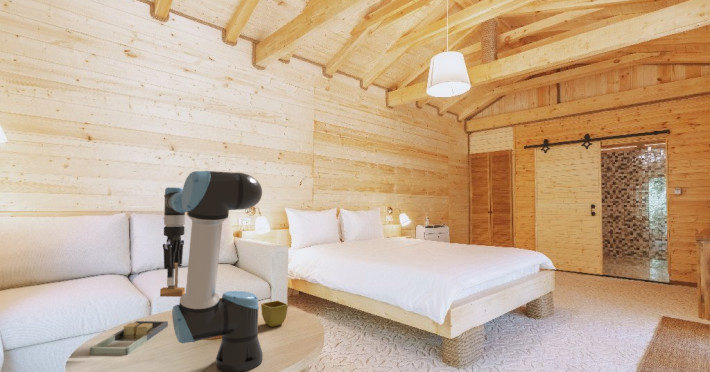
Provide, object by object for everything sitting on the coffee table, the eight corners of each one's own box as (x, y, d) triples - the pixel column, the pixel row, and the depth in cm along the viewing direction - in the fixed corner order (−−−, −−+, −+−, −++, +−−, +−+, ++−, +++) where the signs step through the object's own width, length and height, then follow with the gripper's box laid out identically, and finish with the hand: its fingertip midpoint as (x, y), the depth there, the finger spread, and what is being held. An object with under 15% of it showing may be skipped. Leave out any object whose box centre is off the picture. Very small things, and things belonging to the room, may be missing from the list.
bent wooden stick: (181, 296, 147) (182, 263, 148) (160, 296, 147) (161, 263, 148) (184, 295, 150) (185, 262, 150) (163, 294, 150) (164, 262, 150)
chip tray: (127, 357, 128) (127, 348, 128) (89, 356, 128) (90, 348, 128) (146, 343, 140) (147, 335, 140) (112, 343, 140) (112, 335, 140)
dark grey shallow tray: (146, 343, 140) (147, 335, 140) (112, 343, 140) (112, 335, 140) (167, 328, 156) (167, 321, 156) (136, 328, 156) (136, 321, 156)
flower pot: (277, 319, 169) (278, 300, 169) (288, 325, 162) (288, 304, 163) (260, 324, 163) (260, 303, 163) (270, 329, 156) (270, 308, 157)
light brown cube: (146, 337, 144) (146, 326, 144) (136, 337, 144) (136, 326, 144) (152, 333, 148) (152, 323, 148) (142, 333, 148) (142, 323, 148)
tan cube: (133, 337, 144) (134, 326, 144) (123, 337, 144) (123, 326, 144) (139, 333, 148) (139, 323, 148) (129, 333, 148) (129, 323, 148)
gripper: (174, 224, 157) (172, 279, 157) (154, 227, 142) (153, 289, 141) (192, 224, 157) (190, 280, 157) (174, 227, 142) (172, 289, 141)
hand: (172, 284), depth 149 cm, fingers closed on bent wooden stick, 3 cm apart
